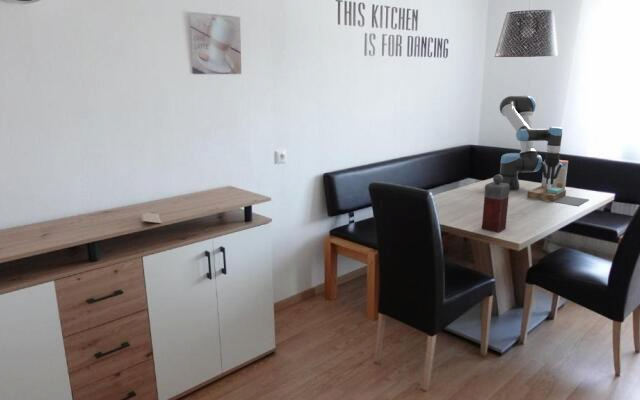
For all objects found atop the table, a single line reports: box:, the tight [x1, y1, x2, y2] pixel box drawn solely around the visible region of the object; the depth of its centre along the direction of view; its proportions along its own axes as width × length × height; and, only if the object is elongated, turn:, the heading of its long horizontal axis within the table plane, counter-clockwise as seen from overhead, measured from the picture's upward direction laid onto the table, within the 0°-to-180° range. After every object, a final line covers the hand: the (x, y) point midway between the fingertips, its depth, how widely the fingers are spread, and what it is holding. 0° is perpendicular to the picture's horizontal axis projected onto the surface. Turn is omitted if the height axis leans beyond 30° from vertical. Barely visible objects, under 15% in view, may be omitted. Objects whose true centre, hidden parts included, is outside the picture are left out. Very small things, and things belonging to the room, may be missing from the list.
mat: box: [553, 195, 590, 207], centre depth 294 cm, size 14×20×1 cm
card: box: [548, 187, 563, 194], centre depth 299 cm, size 6×9×2 cm, turn 134°
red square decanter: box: [481, 173, 510, 234], centre depth 239 cm, size 9×11×28 cm
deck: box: [527, 186, 567, 203], centre depth 303 cm, size 16×20×4 cm
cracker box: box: [540, 159, 569, 190], centre depth 316 cm, size 14×6×21 cm, turn 58°
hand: (549, 189), depth 301 cm, fingers closed
